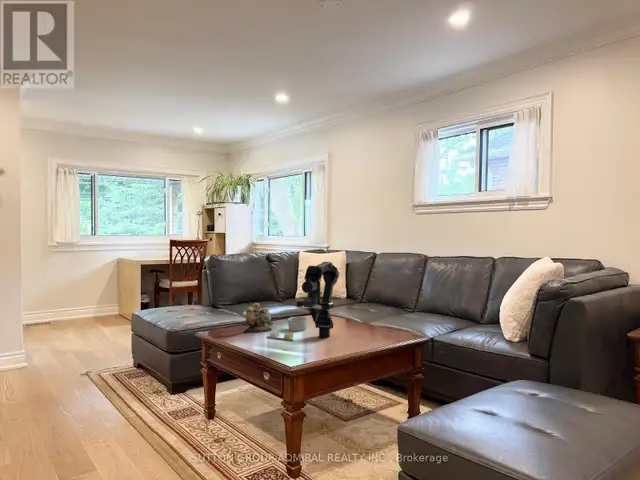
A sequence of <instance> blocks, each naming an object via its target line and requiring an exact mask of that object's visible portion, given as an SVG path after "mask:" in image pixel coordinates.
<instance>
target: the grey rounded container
mask: <svg viewBox="0 0 640 480" xmlns="http://www.w3.org/2000/svg"><path fill="white" fill-rule="evenodd" d="M307 320H308V318H307V317H305V316H290V317H289V318H288V319H287V321H288V322H287V325H288V326H287V327H288V329H289V331H291V332H304V331H305V332H306V329H307V327H308V326H307V325H308V321H307Z"/></svg>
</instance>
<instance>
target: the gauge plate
mask: <svg viewBox="0 0 640 480" xmlns="http://www.w3.org/2000/svg"><path fill="white" fill-rule="evenodd" d="M266 339H271V340H279V341H287V342H294V339H293V338H292V339H286V338H284V337H279V336H278V337H270V335H267V336H266Z"/></svg>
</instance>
